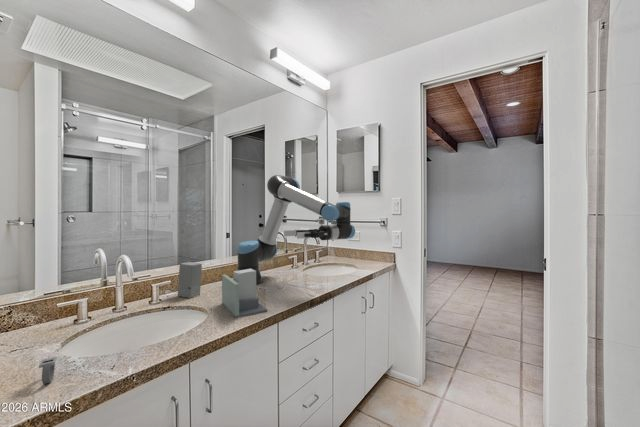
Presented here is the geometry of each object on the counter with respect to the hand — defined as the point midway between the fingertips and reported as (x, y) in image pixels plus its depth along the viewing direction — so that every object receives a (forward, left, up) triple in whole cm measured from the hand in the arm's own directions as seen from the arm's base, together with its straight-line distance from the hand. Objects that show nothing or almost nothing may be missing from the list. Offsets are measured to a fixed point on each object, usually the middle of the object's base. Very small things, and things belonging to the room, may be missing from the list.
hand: (290, 234), depth 131 cm
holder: (0, -22, -30) cm, 37 cm away
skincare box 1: (-31, -39, -30) cm, 58 cm away
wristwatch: (+26, -78, -30) cm, 87 cm away
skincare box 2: (0, -22, -29) cm, 36 cm away
